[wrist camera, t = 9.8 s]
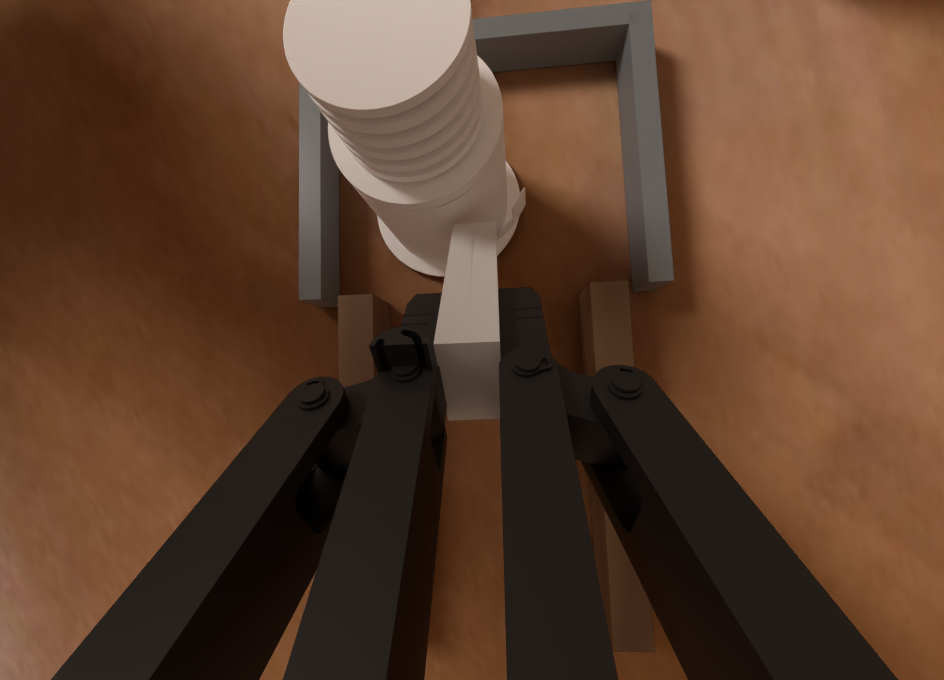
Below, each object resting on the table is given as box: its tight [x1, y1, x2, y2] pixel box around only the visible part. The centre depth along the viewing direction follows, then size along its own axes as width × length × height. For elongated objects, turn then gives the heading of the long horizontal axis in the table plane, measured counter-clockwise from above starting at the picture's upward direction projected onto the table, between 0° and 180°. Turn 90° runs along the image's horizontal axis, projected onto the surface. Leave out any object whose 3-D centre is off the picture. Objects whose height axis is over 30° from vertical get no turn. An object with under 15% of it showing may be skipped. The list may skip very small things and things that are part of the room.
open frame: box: [299, 0, 674, 308], centre depth 18 cm, size 16×12×2 cm
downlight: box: [283, 0, 526, 277], centre depth 14 cm, size 8×7×10 cm
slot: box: [338, 280, 655, 652], centre depth 16 cm, size 12×14×2 cm
